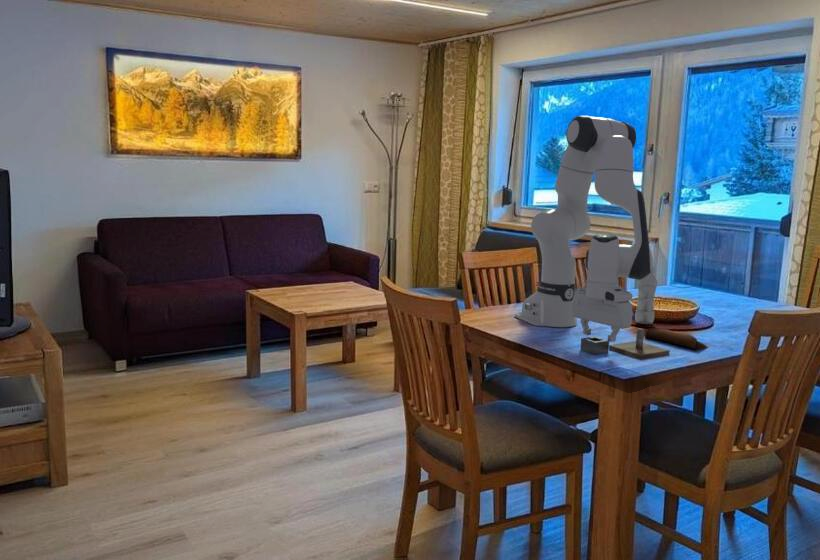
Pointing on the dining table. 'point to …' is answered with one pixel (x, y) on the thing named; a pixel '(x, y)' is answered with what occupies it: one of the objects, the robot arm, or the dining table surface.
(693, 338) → the brown tapered cylinder
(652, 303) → the plastic bottle
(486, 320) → the dining table surface
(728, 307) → the dining table surface
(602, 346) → the ring
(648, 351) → the rod on square base
